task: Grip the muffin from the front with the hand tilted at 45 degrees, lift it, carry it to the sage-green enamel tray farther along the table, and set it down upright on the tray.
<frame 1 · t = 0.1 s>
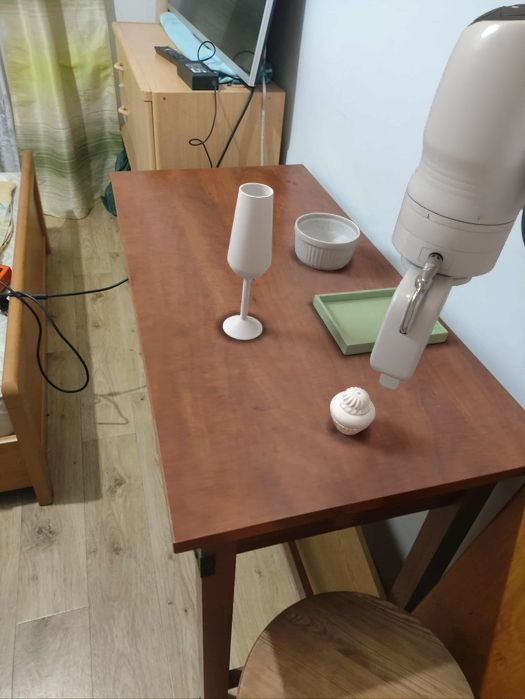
hand: (402, 355, 52), 20 cm above the table, tool pointing down, fingers open, 8 cm apart
tray: (377, 322, 90), on the table
ramekin: (321, 258, 106), on the table
muffin: (346, 427, 71), on the table
champagne flute: (242, 327, 86), on the table
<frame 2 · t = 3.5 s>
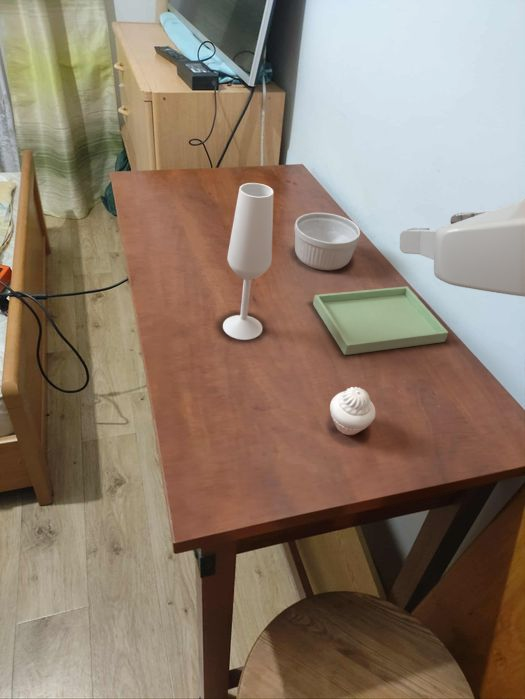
hand: (430, 231, 44), 34 cm above the table, tool tilted 70°, fingers open, 8 cm apart
nothing on the table moved.
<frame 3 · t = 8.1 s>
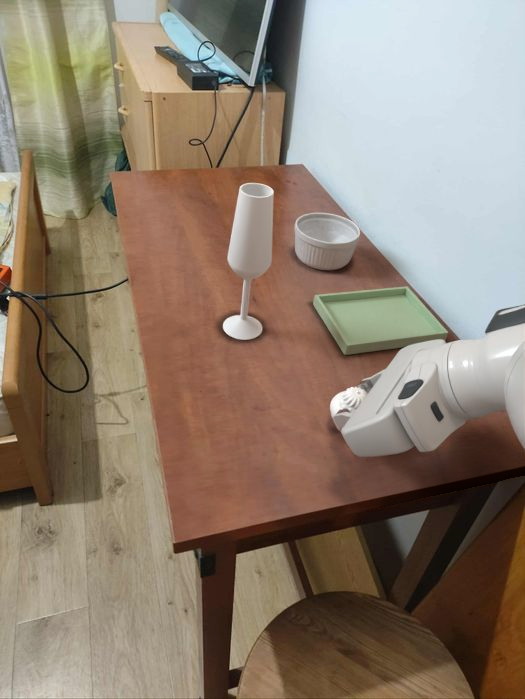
hand: (349, 402, 68), 4 cm above the table, tool tilted 45°, fingers closed on muffin, 6 cm apart
muffin: (346, 427, 71), on the table, touching gripper
everything else where it was.
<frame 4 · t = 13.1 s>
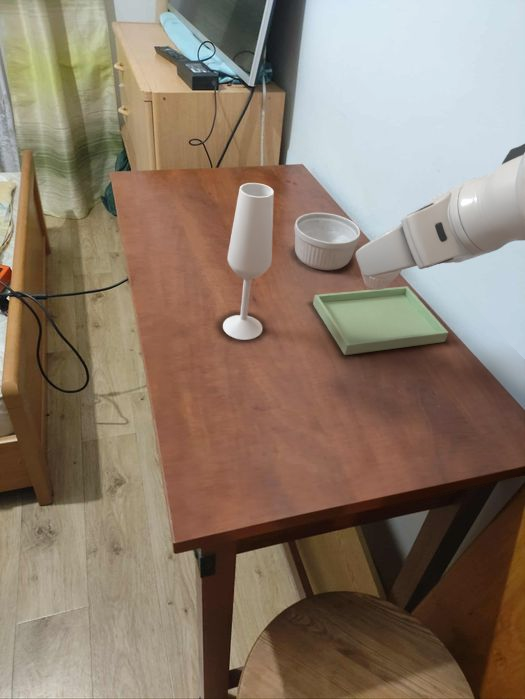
hand: (379, 257, 74), 17 cm above the table, tool tilted 45°, fingers closed on muffin, 6 cm apart
muffin: (374, 285, 77), point 12 cm above the table, touching gripper
everything else where it was.
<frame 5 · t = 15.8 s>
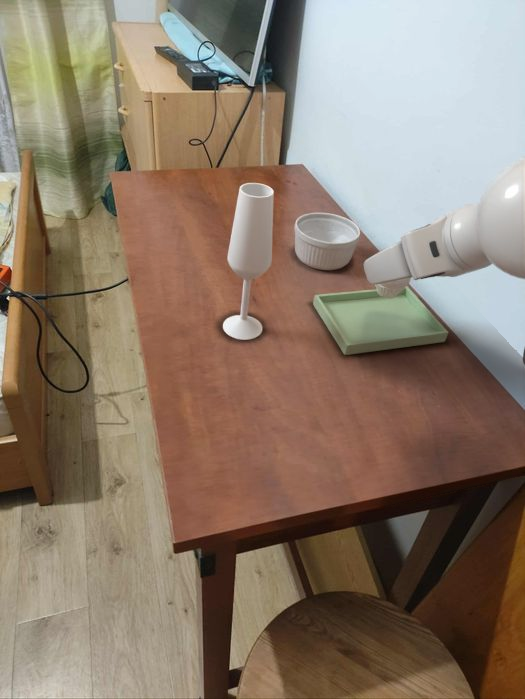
hand: (390, 269, 84), 11 cm above the table, tool tilted 45°, fingers closed on muffin, 6 cm apart
muffin: (386, 294, 86), point 6 cm above the table, touching gripper
everything else where it was.
when the fingers open (5 cm above the table, at t = 18.1 s): muffin stays where it is, resting on tray.
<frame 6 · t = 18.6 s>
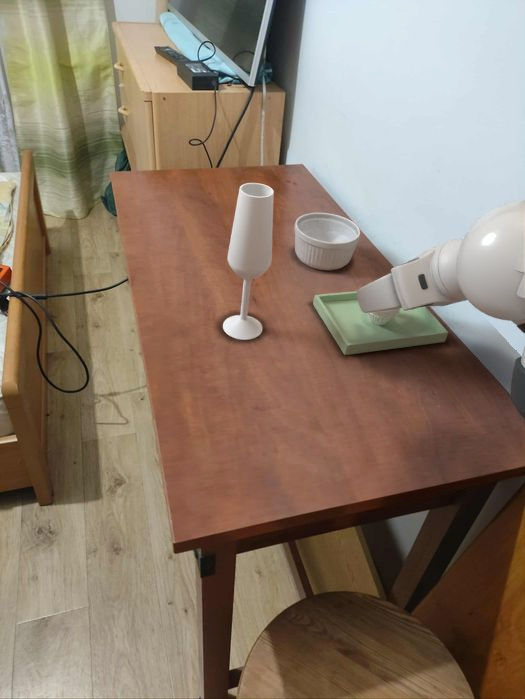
hand: (383, 294, 87), 6 cm above the table, tool tilted 45°, fingers open, 8 cm apart
muffin: (377, 321, 90), resting on tray
everything else where it was.
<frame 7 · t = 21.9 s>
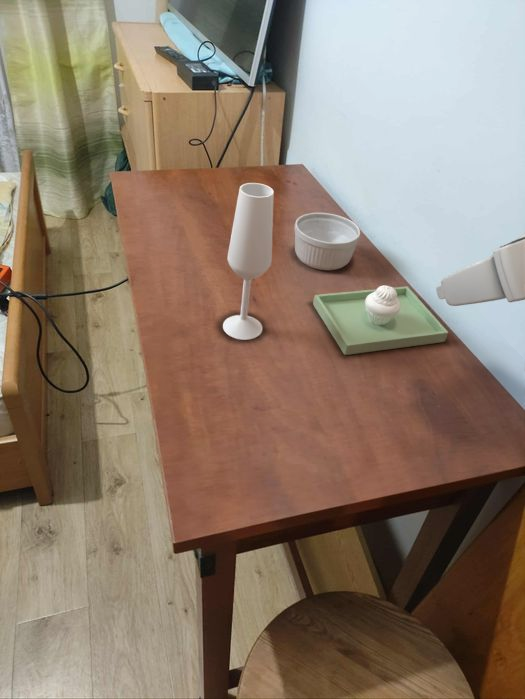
hand: (463, 285, 73), 16 cm above the table, tool tilted 45°, fingers open, 8 cm apart
nothing on the table moved.
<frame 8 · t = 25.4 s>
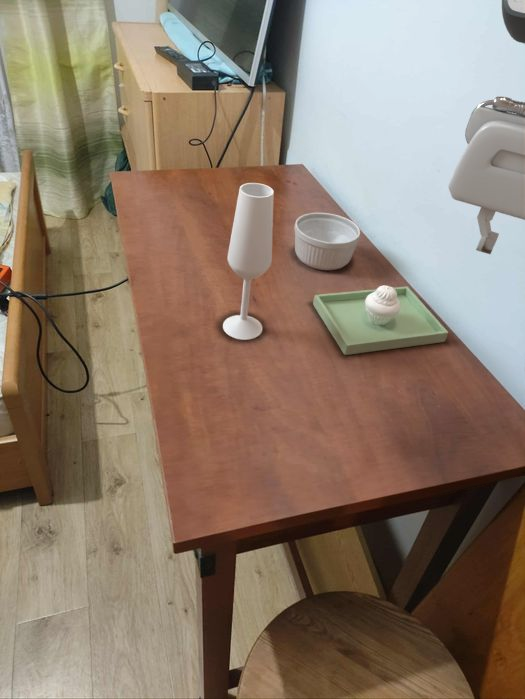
nothing on the table moved.
at the end: muffin inside the target area in the tray (0.1 cm from its centre), point 0.4 cm above the tray's base; muffin tilted 0°; the gripper is holding nothing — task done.
